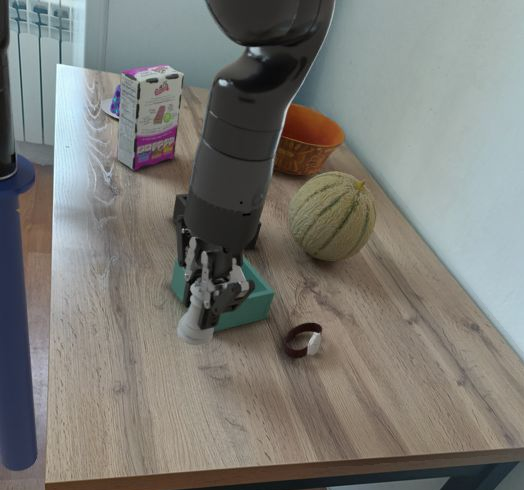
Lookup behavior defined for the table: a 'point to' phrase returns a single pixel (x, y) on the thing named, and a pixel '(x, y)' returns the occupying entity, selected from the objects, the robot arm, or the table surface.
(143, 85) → the candy bar box
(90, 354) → the table surface
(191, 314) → the rook chess piece
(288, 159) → the bowl
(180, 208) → the charcoal bin
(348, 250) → the cantaloupe
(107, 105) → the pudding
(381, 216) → the table surface
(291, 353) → the watch
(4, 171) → the robot arm
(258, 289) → the sea-green bin
